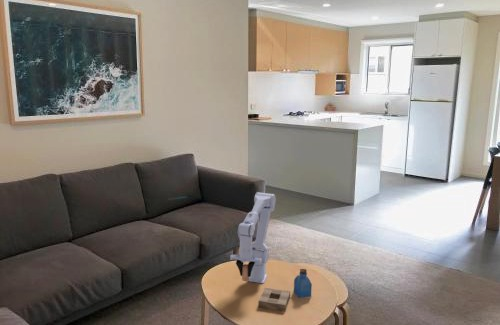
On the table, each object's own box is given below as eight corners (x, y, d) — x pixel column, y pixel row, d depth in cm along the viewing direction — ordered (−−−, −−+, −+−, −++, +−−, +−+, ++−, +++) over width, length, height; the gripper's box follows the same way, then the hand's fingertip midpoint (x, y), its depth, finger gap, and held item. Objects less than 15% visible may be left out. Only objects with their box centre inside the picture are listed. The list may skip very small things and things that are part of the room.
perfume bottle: (298, 298, 184) (299, 274, 182) (293, 291, 190) (294, 268, 188) (311, 296, 186) (312, 272, 184) (305, 289, 192) (306, 266, 189)
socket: (264, 293, 188) (265, 287, 187) (290, 297, 185) (290, 291, 184) (258, 307, 176) (258, 300, 176) (285, 311, 173) (285, 305, 173)
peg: (243, 277, 189) (243, 263, 187) (249, 278, 188) (249, 264, 186) (241, 280, 186) (241, 266, 184) (247, 281, 185) (248, 267, 183)
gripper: (228, 249, 182) (228, 277, 185) (258, 253, 178) (258, 281, 181) (233, 243, 189) (232, 270, 191) (262, 247, 185) (262, 274, 187)
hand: (245, 275), depth 186 cm, fingers closed on peg, 3 cm apart
